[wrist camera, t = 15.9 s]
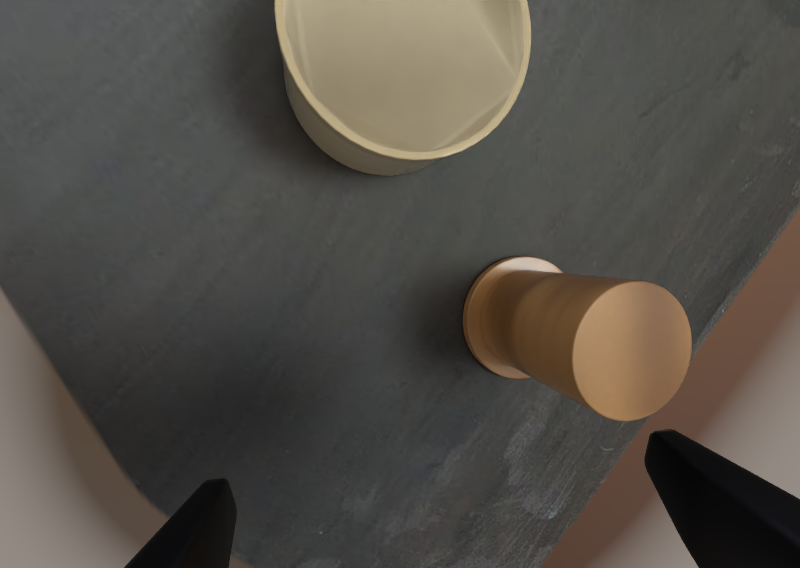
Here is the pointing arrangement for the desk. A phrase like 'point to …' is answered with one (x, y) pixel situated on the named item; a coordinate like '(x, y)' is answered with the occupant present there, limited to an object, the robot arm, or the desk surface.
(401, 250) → the desk surface
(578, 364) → the flanged wooden cylinder
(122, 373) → the desk surface
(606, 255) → the desk surface
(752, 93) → the desk surface
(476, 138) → the cream ceramic pot
